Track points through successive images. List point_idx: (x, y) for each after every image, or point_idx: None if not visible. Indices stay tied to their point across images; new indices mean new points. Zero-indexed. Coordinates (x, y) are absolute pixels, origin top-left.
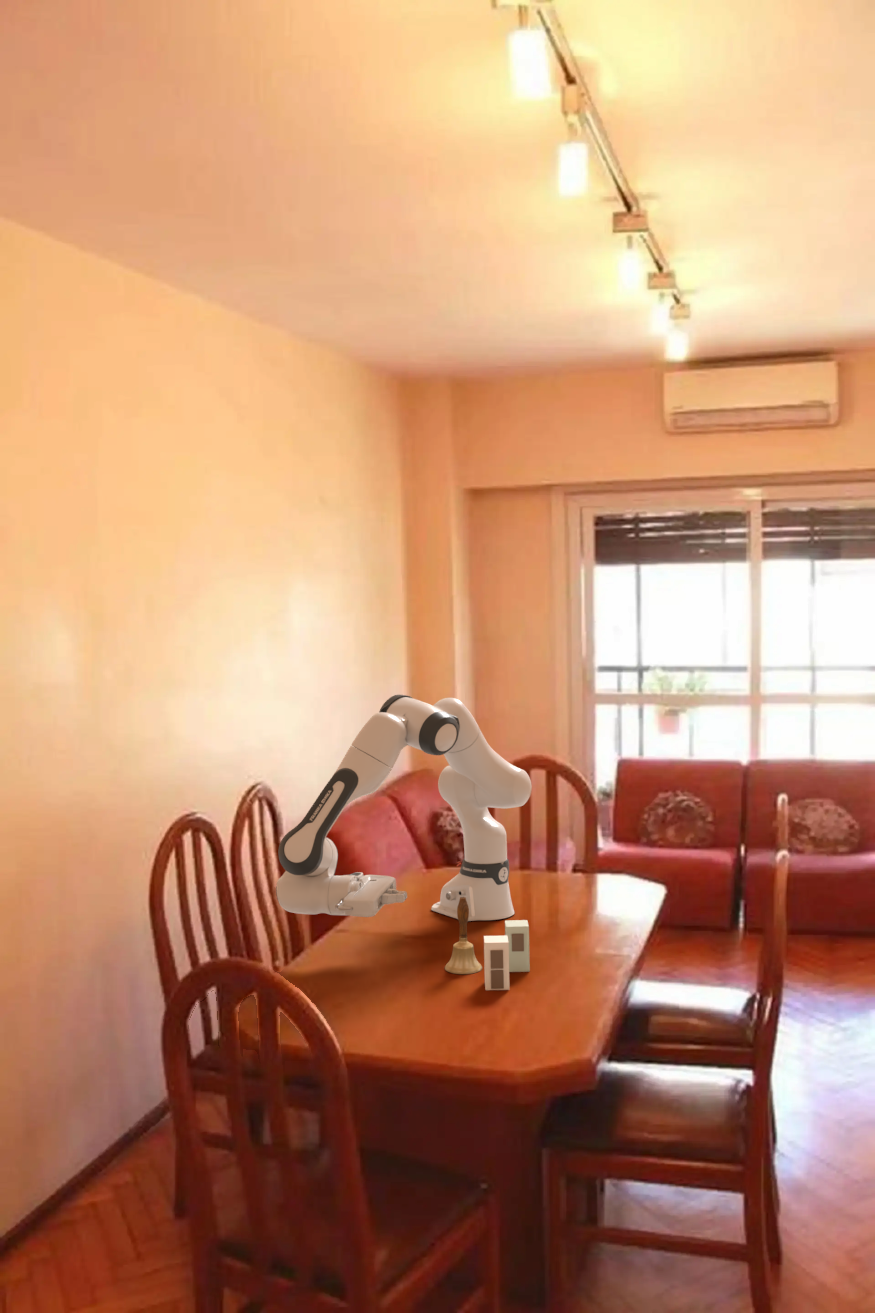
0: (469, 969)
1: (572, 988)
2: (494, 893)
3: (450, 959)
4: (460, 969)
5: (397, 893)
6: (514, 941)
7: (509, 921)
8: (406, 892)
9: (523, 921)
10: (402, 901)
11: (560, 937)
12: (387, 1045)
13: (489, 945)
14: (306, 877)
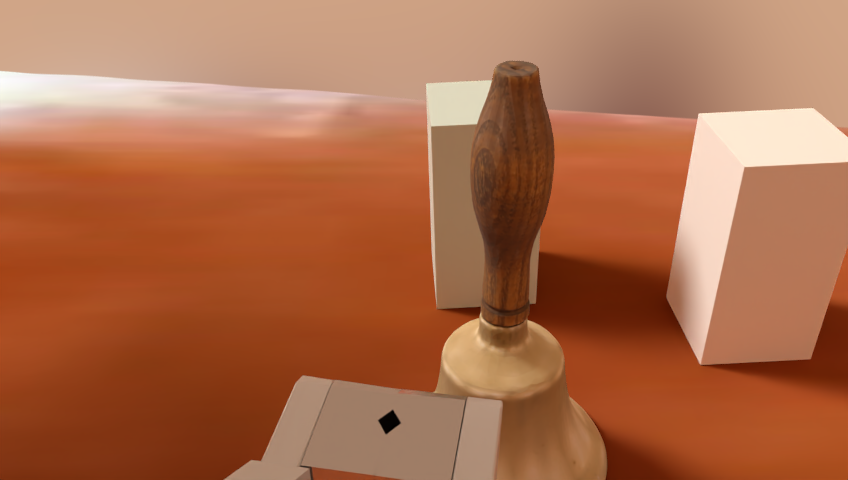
0: (580, 408)
1: (677, 171)
2: None
3: (514, 473)
4: (594, 444)
5: (414, 474)
6: None
7: (449, 115)
8: (313, 378)
9: (450, 88)
10: (496, 478)
11: (116, 191)
12: None
13: None
14: None
